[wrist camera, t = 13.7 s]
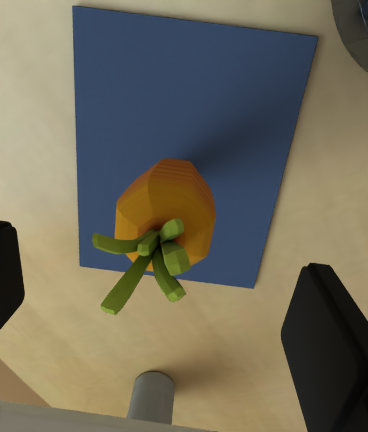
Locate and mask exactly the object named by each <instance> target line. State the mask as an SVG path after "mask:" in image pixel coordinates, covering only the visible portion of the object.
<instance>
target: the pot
mask: <svg viewBox="0 0 368 432" xmlns="http://www.w3.org/2000/svg"><path fill="white" fill-rule="evenodd" d="M331 2H332V9H333V15H334V19H335V22H336V26H337V30H338V32H339V34H340V37H341V39H342V41H343V44H344V45H345V47H346V48H347V50H348V52H349V53H350V55H351V56H352V57H353V58H354V60H355V61H356V62H357V63H358V64H359V65H360V66H361V67H362V68H363V69H364V70H365V71H367V72H368V0H331Z"/></svg>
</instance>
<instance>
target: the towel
mask: <svg viewBox="0 0 368 432" xmlns="http://www.w3.org/2000/svg"><path fill="white" fill-rule="evenodd" d="M72 9H73V45H74V80H75V115H76V151H77V186H78V222H79V257H80V266H82V267H90V268H97V269H105V270H113V271H120V272H126V271H127V270H128V269H129V268H130V266H131V265H132V264H133V262H132V261H131V260H130V259H129V258H128V256H127V255H126V254H113V253H109V252H105V251H102V250H100V249H97V248H95V247H93V242H92V237H93V233H98V234H101V235H105V236H108V237H111V238H114V239H115V223H116V204H117V201H118V199H119V198H120V196H121V195H122V194H123V193H124V192H125V190H126V189H127V188H128V187H129V186H130V185H131V184H132V183H133V182H134V181H135V180H136V179H137V178H138V177H139V176H141V175H142V174H143V173H145V172H146V171H147V170H149V169H150V168H151V167H153V166H154V165H155V164H156V163H158V162H159V161H160V160H162V159H165V158H173V159H180V160H186V161H190V162H191V163H192V164H193V165H194V167H195V168H196V169H197V171H198V172H199V173H200V175H201V176H202V177H203V179H204V180H205V181H206V183H207V184H208V186H209V187H210V189H211V192H212V195H213V199H214V204H215V210H216V220H215V225H214V230H213V235H212V240H211V245H210V250H209V254H208V255H207V257H205V258H204V259H202V260H200V261H199V262H197V263H195V264H194V265H192V266H190V267H191V269H189V270H188V271H186V272H184V273H182V274H178V275H174V277H175V278H176V279H182V280H190V281H198V282H205V283H213V284H221V285H229V286H236V287H244V288H252V289H254V286H255V282H256V278H257V274H258V270H259V266H260V262H261V258H262V255H263V251H264V247H265V243H266V239H267V235H268V231H269V227H270V223H271V220H272V216H273V212H274V208H275V204H276V200H277V196H278V192H279V188H280V185H281V181H282V177H283V173H284V169H285V165H286V161H287V157H288V153H289V150H290V146H291V142H292V138H293V134H294V130H295V126H296V122H297V119H298V115H299V111H300V107H301V103H302V99H303V95H304V91H305V87H306V84H307V80H308V76H309V72H310V68H311V64H312V60H313V56H314V52H315V49H316V45H317V41H318V36H310V35H302V34H294V33H286V32H278V31H271V30H263V29H255V28H247V27H239V26H231V25H223V24H215V23H207V22H199V21H191V20H184V19H176V18H168V17H160V16H152V15H144V14H136V13H128V12H120V11H112V10H104V9H97V8H89V7H81V6H72ZM144 275H151V276H154V272H153V271H145V272H144Z"/></svg>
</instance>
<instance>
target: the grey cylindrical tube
mask: <svg viewBox="0 0 368 432" xmlns="http://www.w3.org/2000/svg"><path fill="white" fill-rule="evenodd" d="M173 402H174V383H173V381H172V380H171V379H170V378H169V377H168V376H166V375H164V374H162V373H159V372H147V373H144V374H142V375H140V376H139V377H138V378H137V379H136V381H135V384H134V388H133V392H132V397H131V401H130V406H129V410H128V415H127V418H129V419H135V420H142V421H149V422H156V423H163V424H170V425H171V424H172V413H173Z"/></svg>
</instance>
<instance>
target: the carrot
mask: <svg viewBox="0 0 368 432" xmlns="http://www.w3.org/2000/svg"><path fill="white" fill-rule="evenodd" d="M215 220H216V210H215V204H214V199H213V195H212V192H211V189H210V187H209V186H208V184H207V183H206V181H205V180H204V179H203V177H202V176H201V175H200V173H199V172H198V171H197V169H196V168H195V167H194V165H193V164H192V163H191V162H190V161H186V160H180V159H173V158H165V159H162V160H160V161H159V162H158V163H156V164H155V165H154V166H153V167H151V168H150V169H149V170H147V171H146V172H145V173H143V174H142V175H141V176H139V177H138V178H137V179H136V180H135V181H134V182H133V183H132V184H131V185H130V186H129V187H128V188H127V189H126V190H125V192H124V193H123V194H122V195H121V196H120V198H119V199H118V201H117V204H116V223H115V239H114V238H111V237H108V236H105V235H101V234H98V233H93V237H92V242H93V247H95V248H97V249H100V250H102V251H105V252H109V253H113V254H126V255H127V256H128V258H129V259H130V260H131V261H132V262H133V264H132V265H131V266H130V268H129V269H128V270H127V271H126V273H125V274H124V275H123V276H122V278H121V279H120V280H119V281H118V283H117V284H116V285H115V287H114V288H113V289H112V290H111V291H110V293H109V294H108V295H107V297H106V298H105V299H104V301H103V302H102V304H101V309H102V310H104V311H105V312H106V313H110V314H114V315H116V314H117V313H118V312H119V311H120V310H121V309H122V308H123V306H124V305H125V303H126V302H127V300H128V299H129V298H130V296H131V294H132V293H133V291H134V289H135V288H136V286H137V284H138V283H139V281H140V279H141V277H142V276H143V274H144V272H145V271H153V272H154V276H155V278H156V280H157V282H158V284H159V286H160V288H161V290H162V292H163V293H164V294H165V296H166V297H167V298H168V299H169V301H171V302H175V301H177V300H180V299H181V298H182V297H183V296H184V295H185V294H186V292H185V291H184V289H183V288H182V286H181V285H180V283H179V282H178V281H177V279H176V278H175V277H174V275H178V274H182V273H184V272H186V271H188V270H189V269H191V267H190V266H192V265H194V264H195V263H197V262H199V261H200V260H202V259H204V258H205V257H207V255H208V254H209V250H210V245H211V240H212V235H213V230H214V225H215Z"/></svg>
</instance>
